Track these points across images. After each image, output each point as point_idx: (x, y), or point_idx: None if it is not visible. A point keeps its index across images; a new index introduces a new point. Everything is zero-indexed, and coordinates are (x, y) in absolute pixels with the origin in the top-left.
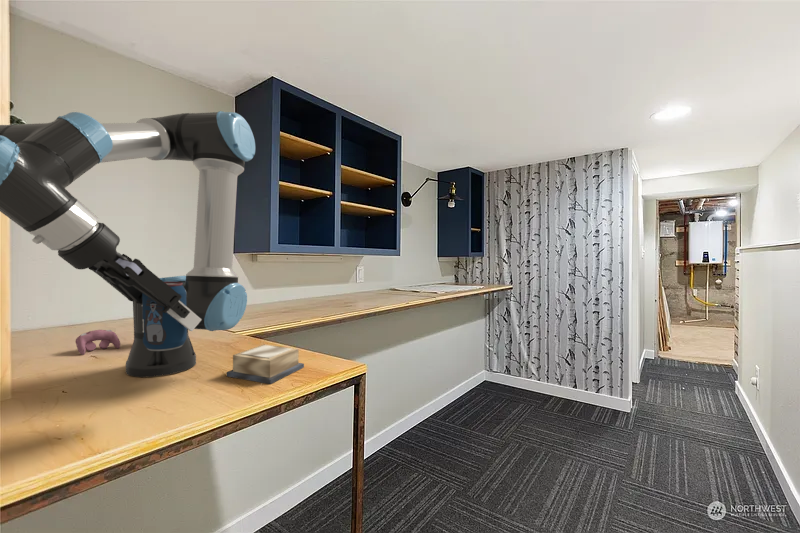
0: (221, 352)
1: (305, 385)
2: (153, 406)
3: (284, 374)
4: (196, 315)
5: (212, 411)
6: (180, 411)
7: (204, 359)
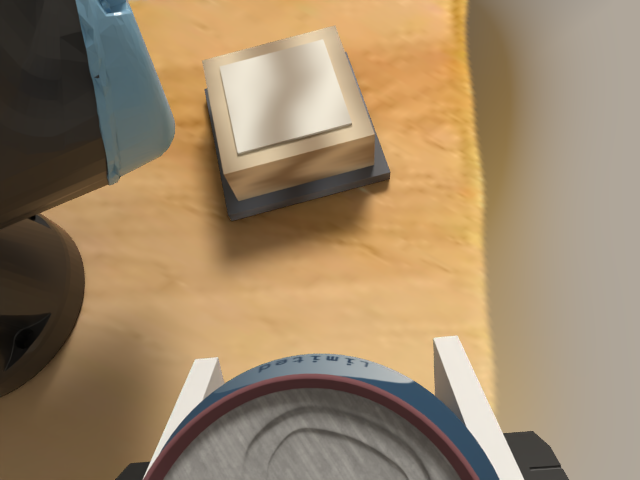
0: None
1: (470, 129)
2: None
3: (371, 124)
4: (469, 365)
5: None
6: None
7: None
